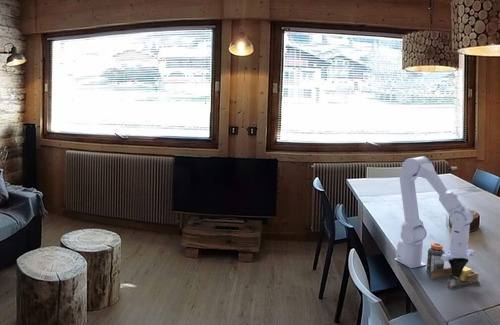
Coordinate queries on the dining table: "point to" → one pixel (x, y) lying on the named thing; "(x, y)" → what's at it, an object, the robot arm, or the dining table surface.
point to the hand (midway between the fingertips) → (456, 276)
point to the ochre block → (465, 273)
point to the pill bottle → (435, 257)
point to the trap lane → (448, 271)
